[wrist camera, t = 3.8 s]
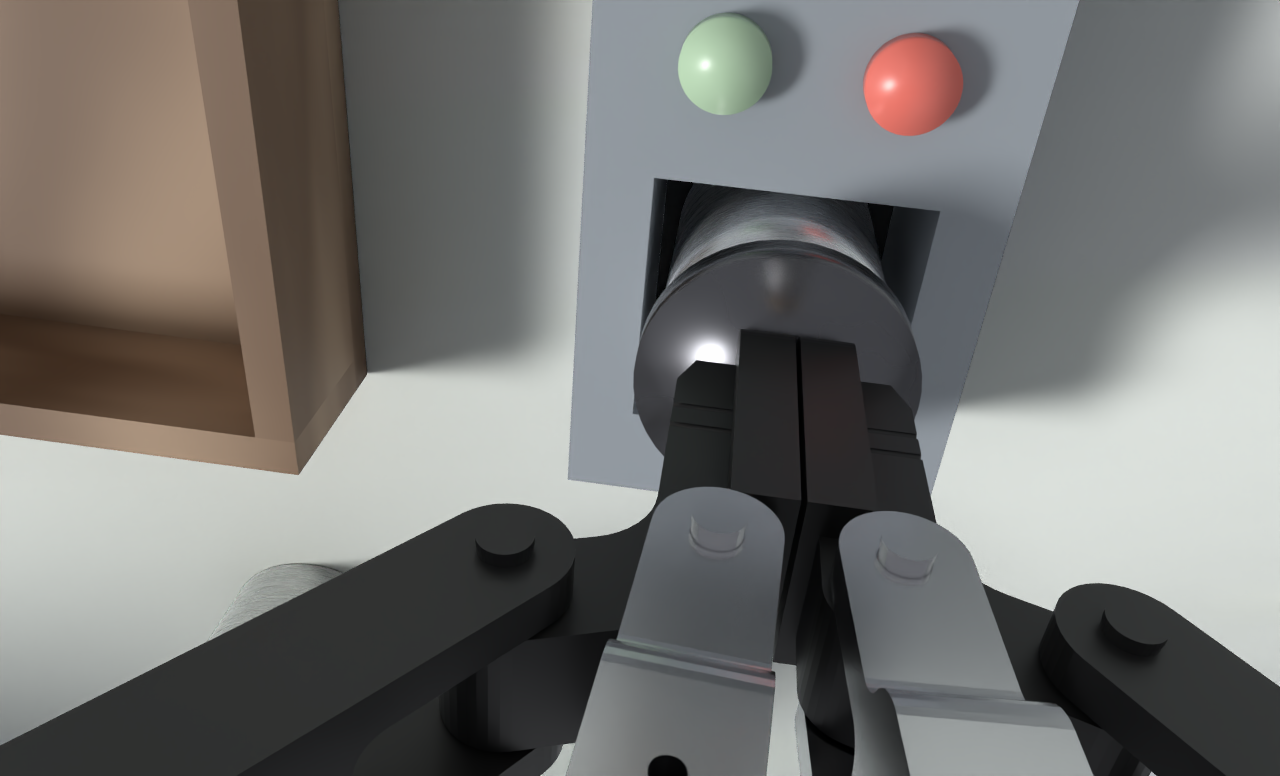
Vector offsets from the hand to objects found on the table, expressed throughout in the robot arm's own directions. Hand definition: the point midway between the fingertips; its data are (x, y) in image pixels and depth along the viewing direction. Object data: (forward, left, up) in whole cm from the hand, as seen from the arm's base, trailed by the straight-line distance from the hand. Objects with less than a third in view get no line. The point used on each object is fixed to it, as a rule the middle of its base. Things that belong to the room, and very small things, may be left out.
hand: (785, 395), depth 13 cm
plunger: (0, 0, -5) cm, 5 cm away
